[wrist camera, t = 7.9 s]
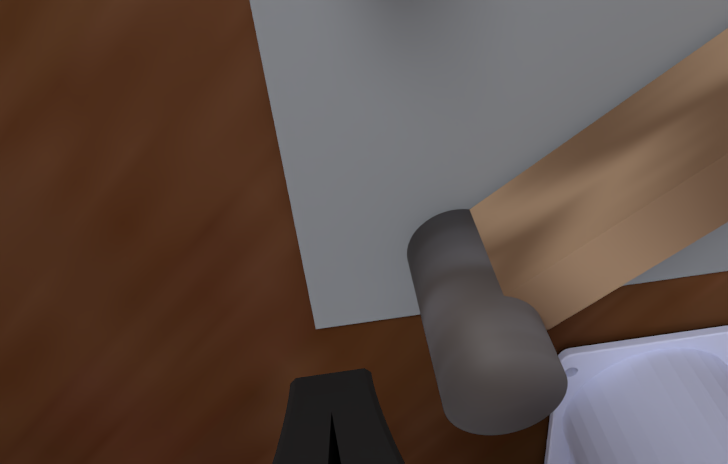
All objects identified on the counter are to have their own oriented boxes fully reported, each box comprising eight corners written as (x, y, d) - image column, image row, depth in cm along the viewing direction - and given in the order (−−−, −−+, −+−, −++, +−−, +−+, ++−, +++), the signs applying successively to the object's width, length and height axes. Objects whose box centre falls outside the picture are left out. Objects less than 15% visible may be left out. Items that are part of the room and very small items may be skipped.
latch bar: (444, 301, 23) (487, 450, 18) (387, 249, 21) (417, 398, 16) (948, -30, 17) (1201, 57, 13) (923, -135, 16) (1202, -79, 11)
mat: (805, 253, 24) (810, 259, 24) (315, 323, 24) (315, 329, 23) (1145, -599, 12) (1163, -606, 12) (153, -484, 12) (151, -489, 11)
